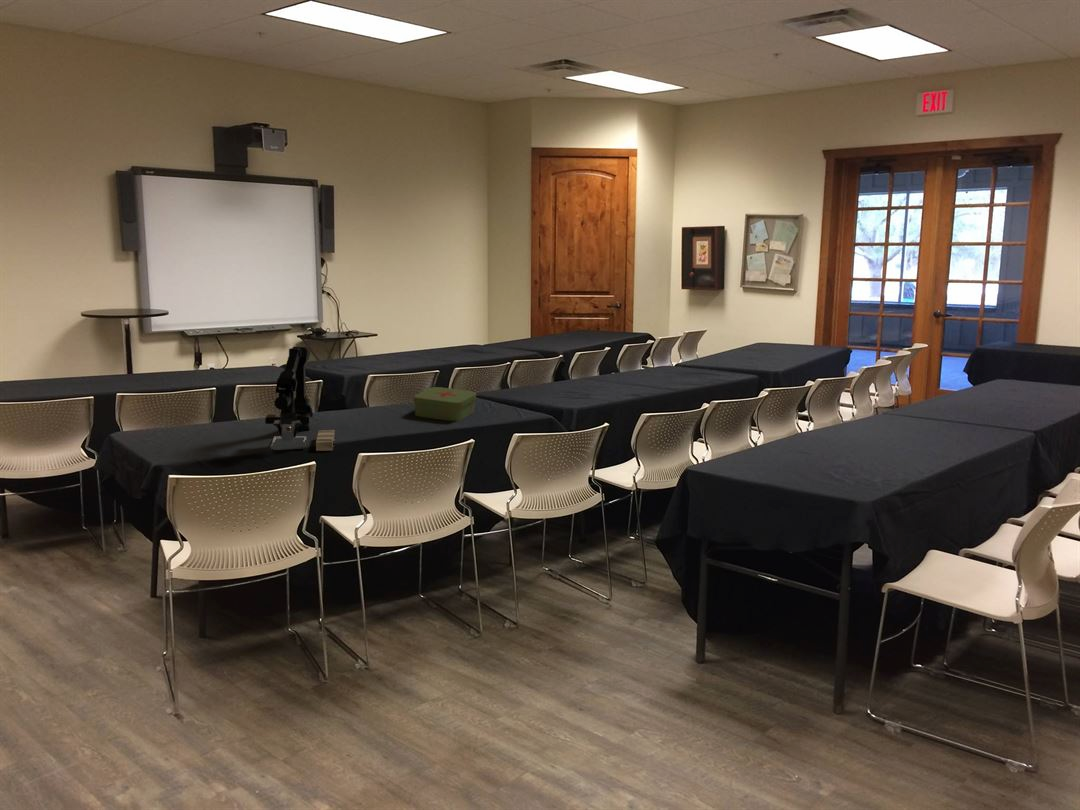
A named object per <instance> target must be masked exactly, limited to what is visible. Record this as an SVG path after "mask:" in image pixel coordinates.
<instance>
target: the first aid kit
mask: <svg viewBox="0 0 1080 810" xmlns="http://www.w3.org/2000/svg"><path fill="white" fill-rule="evenodd" d="M476 399H477V393H476V392H475V391H471V390H464V389H457V388H456V389H455V388H448V387H442V386H441V387H439V386H434V387H429V388H428V389H426V390H424V391H421V392H420V393H417V394H415V395H414V396H413V403H414V404H415V405H414V415H415V416H417V417H420V418H429V419H435V420H443V421H449V422H450V421H451V422H459V421H461V420H463V419H465V418H466V417H468V416H469V415H471V414H472V413H474V412H475V400H476Z"/></svg>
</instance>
